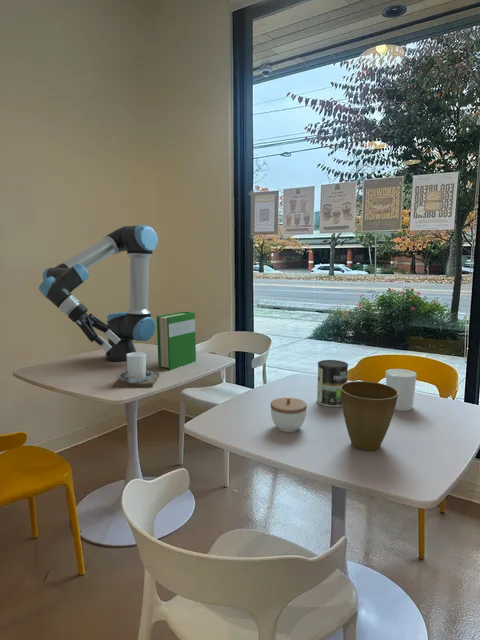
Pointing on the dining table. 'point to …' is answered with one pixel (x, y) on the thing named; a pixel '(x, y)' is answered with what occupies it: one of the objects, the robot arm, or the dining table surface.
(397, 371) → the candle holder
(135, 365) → the white cup
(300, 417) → the lidded jar
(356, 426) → the plant pot
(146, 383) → the ring holder
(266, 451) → the dining table surface
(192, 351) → the hardback book
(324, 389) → the coffee can
